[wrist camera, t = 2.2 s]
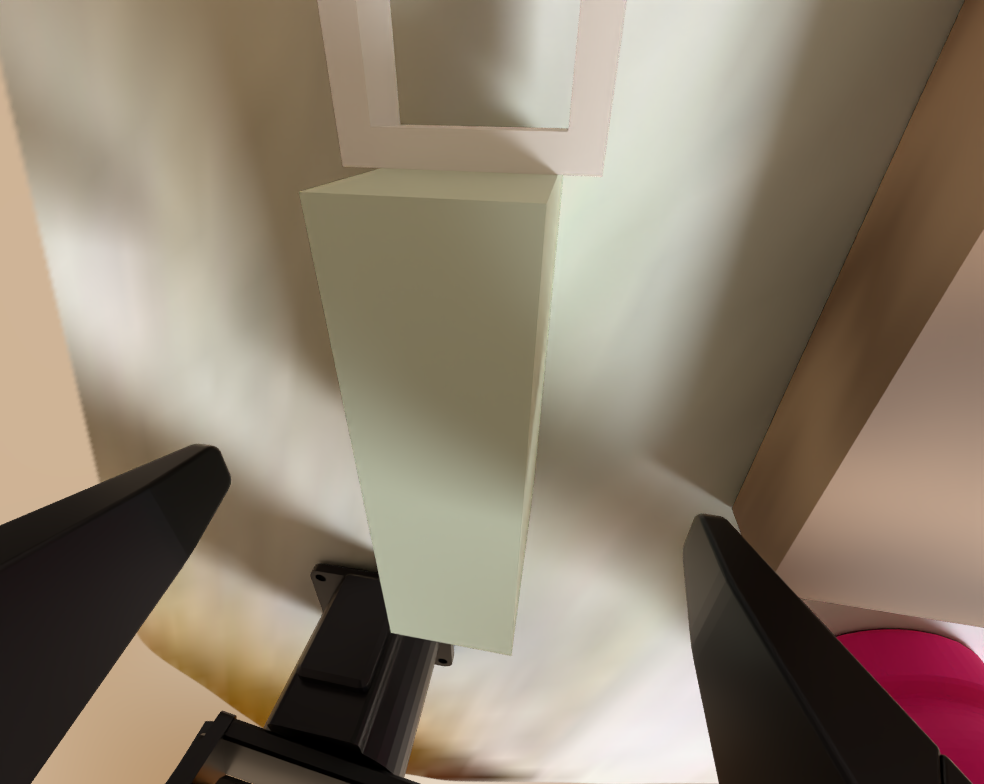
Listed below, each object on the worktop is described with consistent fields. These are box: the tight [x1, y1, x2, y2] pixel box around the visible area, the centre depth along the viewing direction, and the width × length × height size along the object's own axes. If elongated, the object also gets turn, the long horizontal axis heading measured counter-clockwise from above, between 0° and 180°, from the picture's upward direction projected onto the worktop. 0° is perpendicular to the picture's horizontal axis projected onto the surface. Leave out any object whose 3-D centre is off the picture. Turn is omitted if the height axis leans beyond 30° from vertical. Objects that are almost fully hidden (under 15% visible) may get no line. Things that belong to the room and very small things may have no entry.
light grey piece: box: [299, 0, 627, 656], centre depth 9 cm, size 14×4×6 cm, turn 0°
